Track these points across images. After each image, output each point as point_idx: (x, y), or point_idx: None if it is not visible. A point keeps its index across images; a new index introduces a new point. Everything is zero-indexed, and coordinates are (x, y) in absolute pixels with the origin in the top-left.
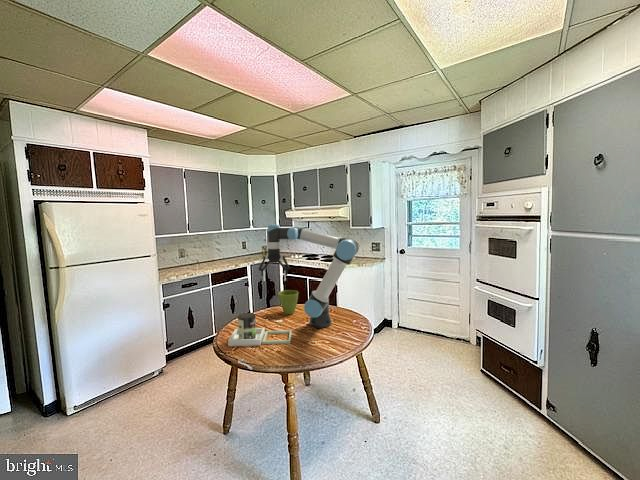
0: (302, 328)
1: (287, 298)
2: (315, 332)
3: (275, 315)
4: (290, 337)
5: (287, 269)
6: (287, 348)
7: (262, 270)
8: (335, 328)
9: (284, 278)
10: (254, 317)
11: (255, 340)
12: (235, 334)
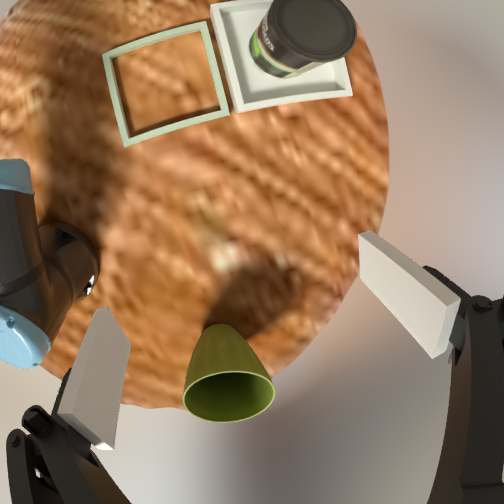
0: (101, 201)
1: (217, 361)
2: (48, 178)
3: (262, 305)
4: (107, 79)
5: (39, 440)
6: (105, 21)
7: (478, 303)
8: None
9: (97, 325)
10: (268, 14)
11: (228, 2)
12: (335, 67)
